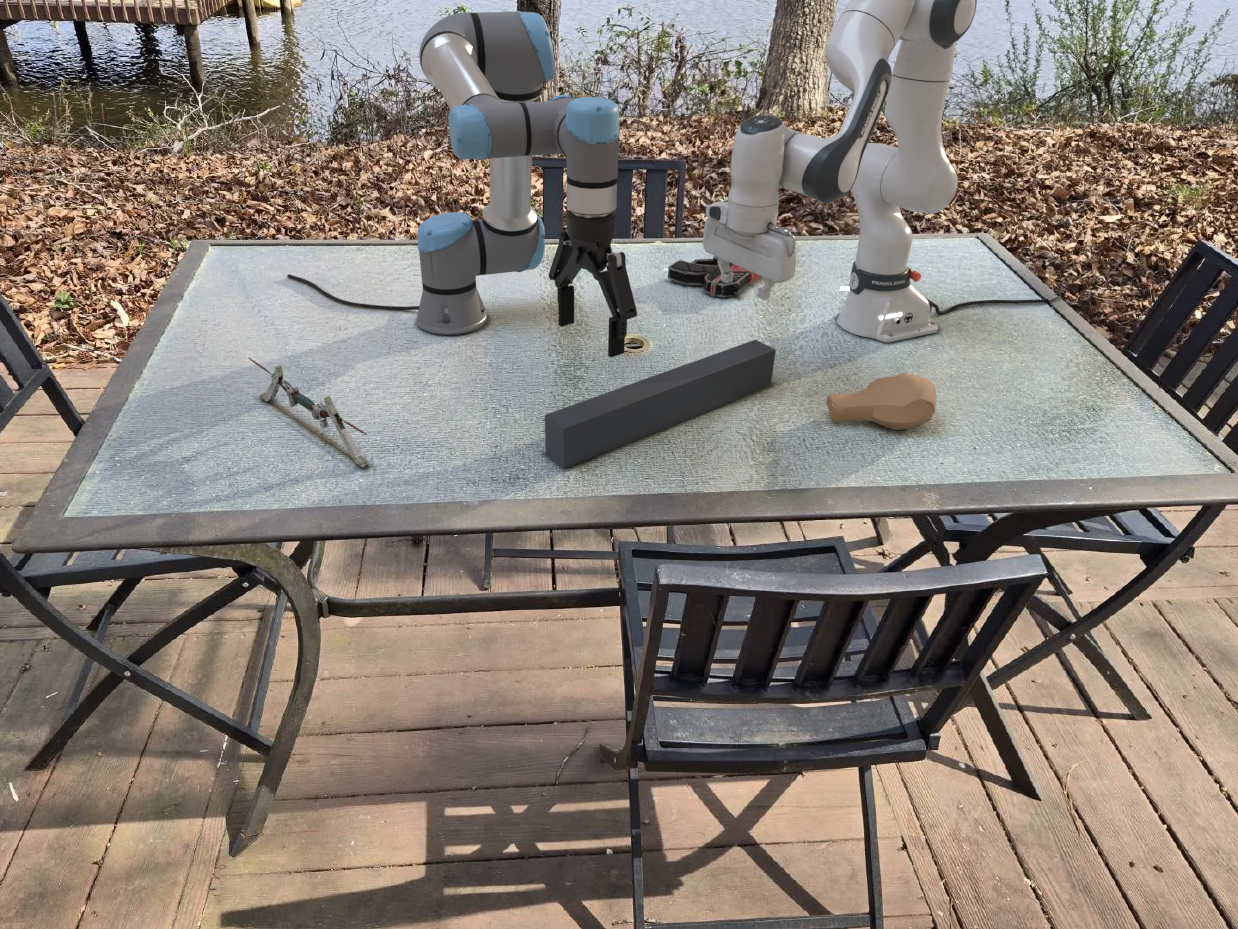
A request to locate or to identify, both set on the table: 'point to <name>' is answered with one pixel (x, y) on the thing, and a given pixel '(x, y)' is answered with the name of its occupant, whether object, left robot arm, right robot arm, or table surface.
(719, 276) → the gun
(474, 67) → the left robot arm
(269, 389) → the bow
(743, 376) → the beam
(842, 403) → the squash
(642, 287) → the table surface
